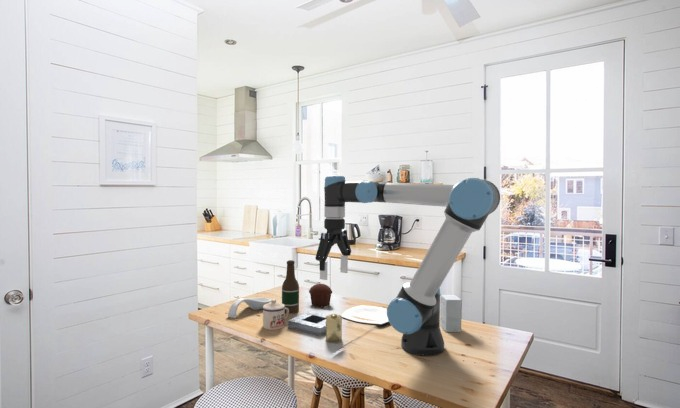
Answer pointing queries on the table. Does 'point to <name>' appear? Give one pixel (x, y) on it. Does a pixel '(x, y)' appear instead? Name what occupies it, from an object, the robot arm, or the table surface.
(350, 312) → the plate
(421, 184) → the robot arm
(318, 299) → the muffin
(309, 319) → the frame
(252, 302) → the spoon rest
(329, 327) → the yellow can
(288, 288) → the beer bottle
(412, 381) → the table surface
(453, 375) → the table surface
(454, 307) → the small box
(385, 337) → the table surface
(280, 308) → the teacup with lid
